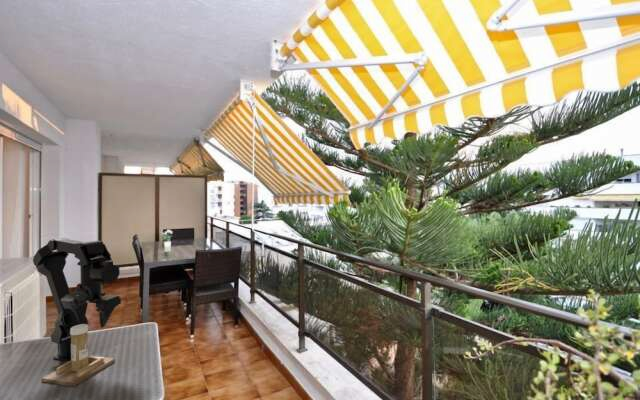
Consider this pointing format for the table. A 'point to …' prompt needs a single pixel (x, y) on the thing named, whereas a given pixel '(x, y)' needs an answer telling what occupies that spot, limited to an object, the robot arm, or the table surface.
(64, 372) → the bottle cradle
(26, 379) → the table surface
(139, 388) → the table surface
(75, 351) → the sprinkles bottle
